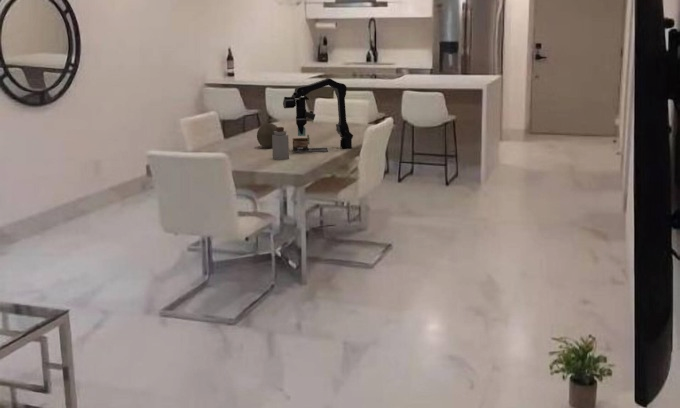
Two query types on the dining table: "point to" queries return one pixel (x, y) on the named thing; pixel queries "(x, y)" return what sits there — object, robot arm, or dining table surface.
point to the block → (300, 133)
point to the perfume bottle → (280, 144)
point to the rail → (311, 150)
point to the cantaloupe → (266, 134)
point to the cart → (301, 143)
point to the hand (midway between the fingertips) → (301, 133)
